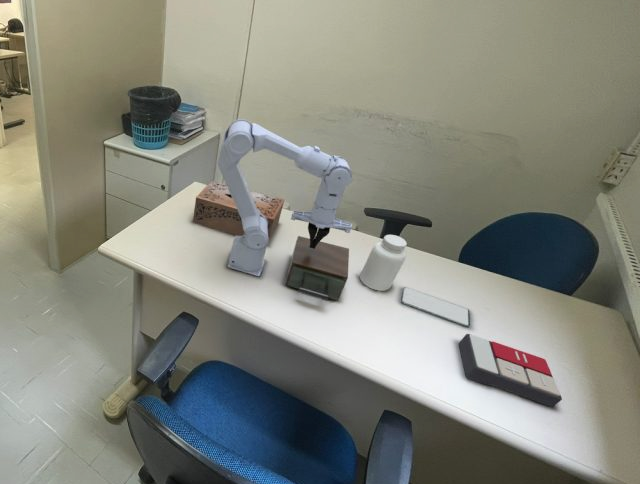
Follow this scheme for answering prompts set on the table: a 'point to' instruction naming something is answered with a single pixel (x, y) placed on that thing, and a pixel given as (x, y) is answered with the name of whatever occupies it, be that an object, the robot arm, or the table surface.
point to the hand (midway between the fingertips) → (312, 246)
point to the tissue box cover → (232, 209)
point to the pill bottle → (384, 263)
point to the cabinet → (320, 259)
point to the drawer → (315, 283)
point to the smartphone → (436, 306)
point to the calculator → (508, 369)
